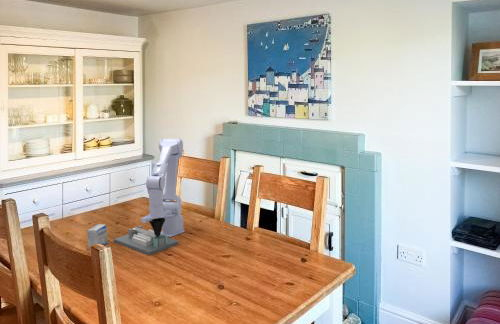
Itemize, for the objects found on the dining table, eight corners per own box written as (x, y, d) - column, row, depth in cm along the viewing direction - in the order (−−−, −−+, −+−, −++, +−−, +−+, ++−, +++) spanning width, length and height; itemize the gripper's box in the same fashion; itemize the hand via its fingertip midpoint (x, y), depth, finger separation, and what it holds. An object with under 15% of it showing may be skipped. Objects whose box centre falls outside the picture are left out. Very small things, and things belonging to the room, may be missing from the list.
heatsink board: (143, 232, 201) (142, 220, 200) (178, 244, 186) (178, 231, 185) (113, 242, 188) (113, 229, 187) (149, 255, 174) (148, 242, 173)
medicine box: (97, 250, 179) (96, 230, 177) (88, 249, 180) (86, 229, 178) (107, 243, 187) (106, 224, 185) (98, 242, 188) (97, 223, 186)
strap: (131, 230, 190) (131, 228, 189) (137, 228, 192) (137, 226, 192) (157, 240, 179) (156, 237, 179) (163, 237, 182) (163, 234, 182)
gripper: (148, 209, 171) (150, 242, 173) (175, 201, 182) (176, 232, 185) (137, 206, 175) (138, 238, 178) (164, 199, 187) (165, 229, 189)
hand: (157, 235), depth 182 cm, fingers closed
